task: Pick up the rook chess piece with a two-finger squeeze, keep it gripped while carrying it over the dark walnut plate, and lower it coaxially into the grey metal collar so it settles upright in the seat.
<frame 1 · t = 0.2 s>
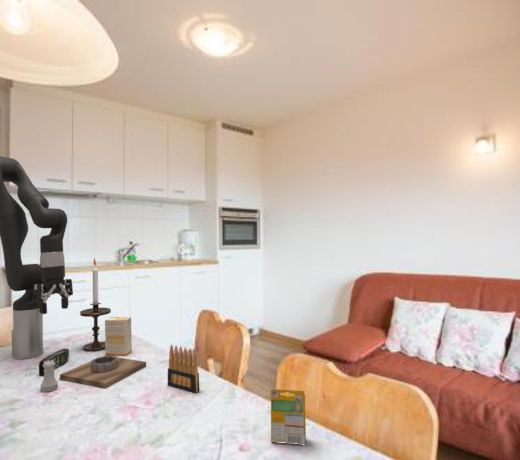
hand: (54, 311, 129), 17 cm above the table, tool pointing down, fingers open, 8 cm apart
rook chess piece: (49, 389, 105), on the table
walnut plate: (104, 372, 117), on the table
metal collar: (104, 364, 117), on the walnut plate, point 2 cm above the table
candlestick: (96, 348, 142), on the table
mobile phone: (56, 368, 122), on the table
crayon box: (288, 441, 79), on the table
supplement box: (118, 353, 135), on the table
ammunition clip: (183, 389, 105), on the table
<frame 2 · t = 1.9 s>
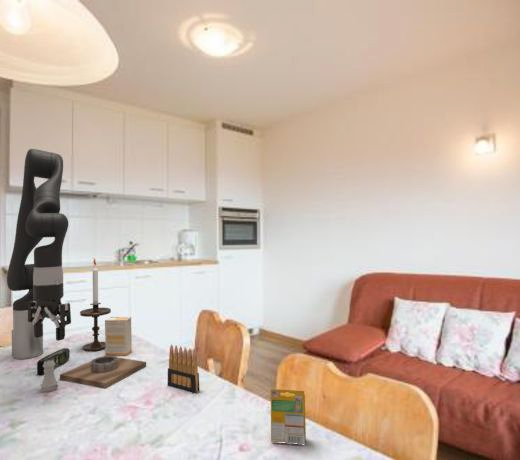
hand: (49, 338, 105), 15 cm above the table, tool pointing down, fingers open, 8 cm apart
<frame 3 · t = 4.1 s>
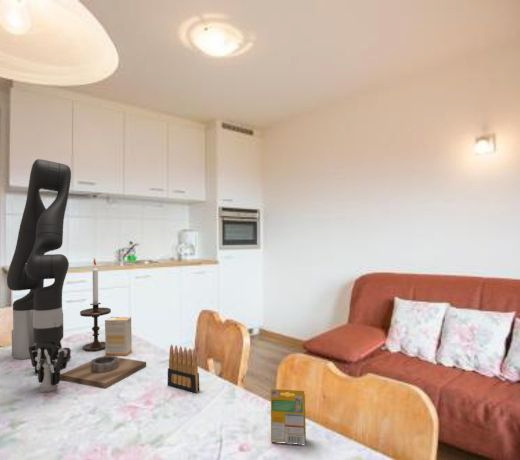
hand: (49, 382, 105), 2 cm above the table, tool pointing down, fingers closed on rook chess piece, 4 cm apart
rook chess piece: (49, 389, 105), on the table, touching gripper
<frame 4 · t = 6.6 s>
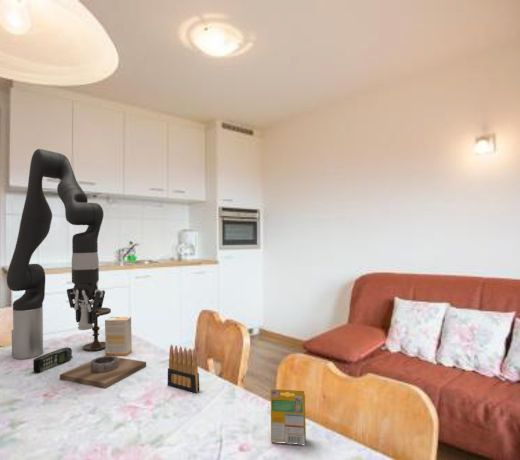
hand: (85, 322, 113), 17 cm above the table, tool pointing down, fingers closed on rook chess piece, 4 cm apart
rook chess piece: (85, 329, 113), point 15 cm above the table, touching gripper
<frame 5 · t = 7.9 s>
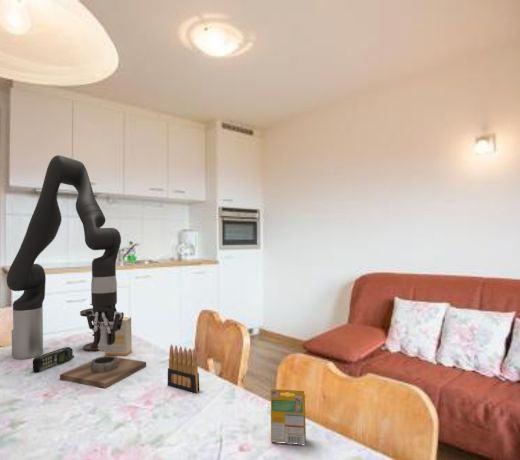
hand: (105, 343, 117), 9 cm above the table, tool pointing down, fingers closed on rook chess piece, 4 cm apart
rook chess piece: (105, 349, 117), point 7 cm above the table, touching gripper
when the fingers open (5 cm above the table, at t = 9.1 s): rook chess piece drops 2 cm, resting on walnut plate.
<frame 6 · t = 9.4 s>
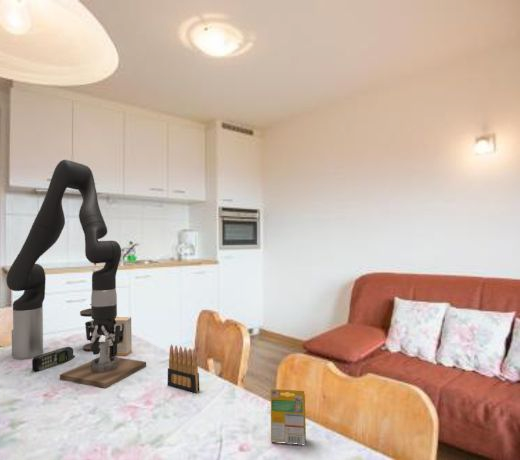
hand: (104, 355, 117), 6 cm above the table, tool pointing down, fingers open, 6 cm apart
rook chess piece: (104, 368, 117), point 1 cm above the table, touching walnut plate
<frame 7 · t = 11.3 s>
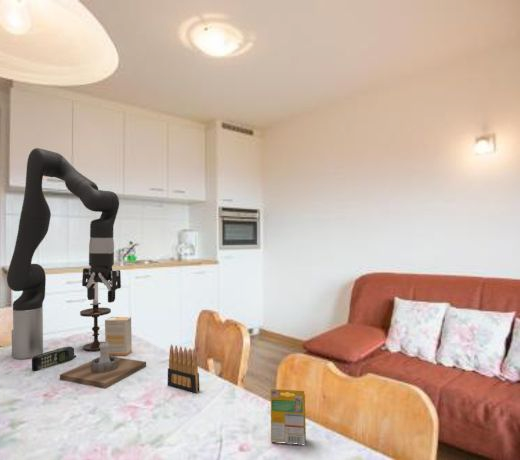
hand: (101, 300, 120), 22 cm above the table, tool pointing down, fingers open, 8 cm apart
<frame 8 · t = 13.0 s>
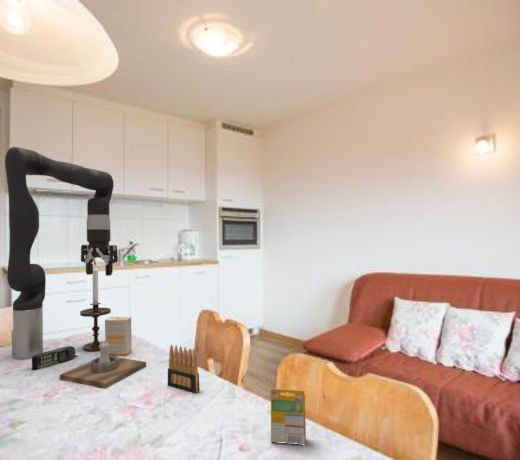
hand: (99, 274, 127), 30 cm above the table, tool pointing down, fingers open, 8 cm apart
at the end: rook chess piece 0.2 cm from the metal collar (horizontally); rook chess piece point 1.3 cm above the table; rook chess piece tilted 0° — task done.
